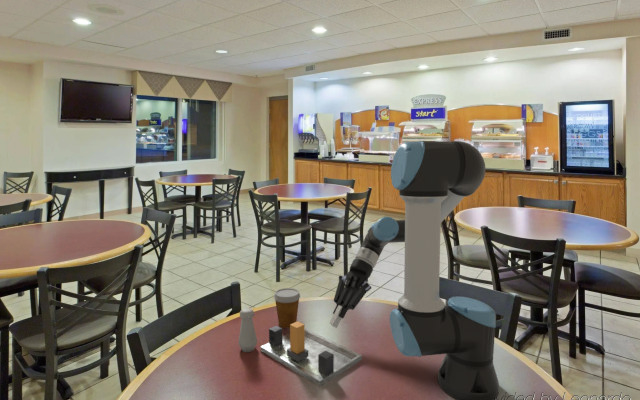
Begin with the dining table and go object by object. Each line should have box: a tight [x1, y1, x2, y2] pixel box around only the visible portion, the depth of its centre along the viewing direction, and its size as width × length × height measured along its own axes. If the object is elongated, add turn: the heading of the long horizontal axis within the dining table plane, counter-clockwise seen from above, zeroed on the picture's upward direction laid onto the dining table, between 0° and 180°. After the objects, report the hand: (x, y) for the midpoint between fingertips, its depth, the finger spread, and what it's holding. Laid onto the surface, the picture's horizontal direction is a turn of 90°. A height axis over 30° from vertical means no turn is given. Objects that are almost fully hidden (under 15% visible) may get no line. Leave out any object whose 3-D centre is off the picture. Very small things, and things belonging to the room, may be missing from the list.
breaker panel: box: [260, 325, 363, 387], centre depth 117 cm, size 26×18×6 cm
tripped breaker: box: [287, 320, 308, 362], centre depth 113 cm, size 5×4×10 cm
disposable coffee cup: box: [273, 287, 301, 329], centre depth 137 cm, size 10×10×12 cm
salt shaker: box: [238, 307, 258, 353], centre depth 120 cm, size 6×6×13 cm
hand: (333, 325), depth 123 cm, fingers closed
